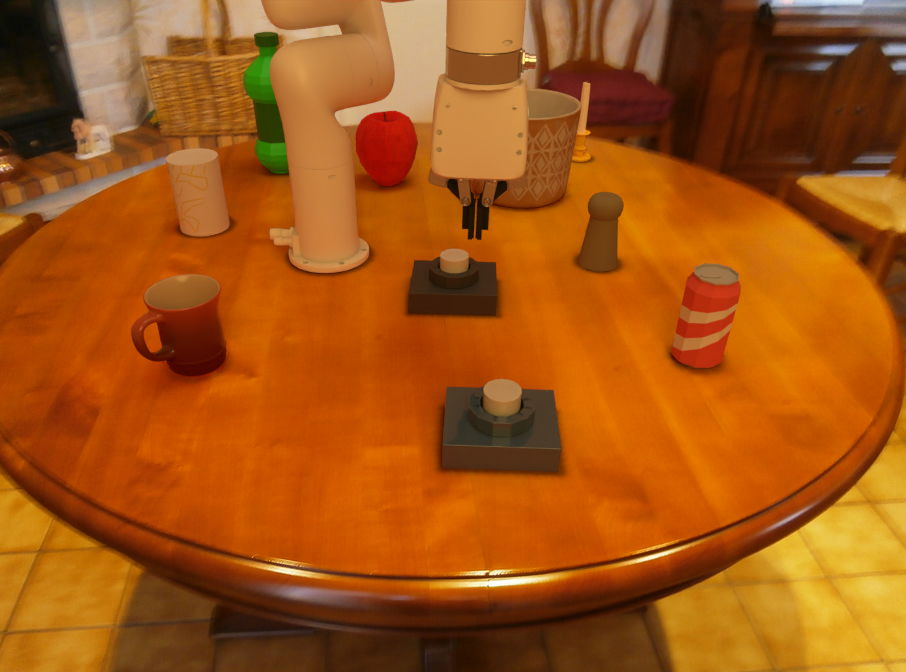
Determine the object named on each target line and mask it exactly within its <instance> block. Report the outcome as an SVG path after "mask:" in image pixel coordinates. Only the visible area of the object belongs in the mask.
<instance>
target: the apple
mask: <svg viewBox="0 0 906 672" xmlns="http://www.w3.org/2000/svg"><path fill="white" fill-rule="evenodd" d="M354 137H355V152H356V155H357V157H358V161H359V163H360V165H361V166H362V168H363V169H364V171H365V172H366V173H367V175H368V176H369V177H370V178H371V179H372V180H373V181H374V182H375V183H376V184H378V185H379V186H382V187H395V186H396V185H399V184H401V183H402V182H403V181H404V180H405V179H406V177H407V176H408V174H409V172H410V171H411V169H412V167H413V165H414V162H415V160H416V156H417V150H418V144H419V142H418V136H417V131H416V129H415V125H414V122H413V121H412V120H411V118H410V116H408V115H407V114H404V113H403V112H401V111H397V110H386V111H385V110H384V111H377V112H372V113H369V114H367V115H366V116H364V117H363V118H362V119H360V122H359V124H358V125H357V127H356V131H355V136H354Z"/></svg>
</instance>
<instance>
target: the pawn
mask: <svg viewBox="0 0 906 672" xmlns="http://www.w3.org/2000/svg"><path fill="white" fill-rule="evenodd" d="M624 207H625V205H624V201H623V198H622V197H621V196H620V194H617V193H615V192H611V191H599V192H595V193H593V194H592V195H591V196H590V198H589V200H588V202H587V212H588V214H589V218H588V222H587V226H586V229H585V233H584V237H583V240H582V244H581V247H580V252H579V255H578V259H577V263H578V265H579V266H580V267H581V268H584V269H586V270H588V271H592V272H602V273H603V272H609V271H613V270H614V269H616V268H617V266H618V244H619V243H618V242H619V218H620V217H621V215H622V214H623V211H624Z"/></svg>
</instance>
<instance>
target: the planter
mask: <svg viewBox="0 0 906 672" xmlns="http://www.w3.org/2000/svg"><path fill="white" fill-rule="evenodd" d="M580 102H581V100H579V99H578V98H576V97H575V96H572V95H570V94H567V93H564V92H561V91H556V90H551V89H544V88H534V87H528V108H529V120H528V146H527V160H526V167H525V172H526V178H527V185H526V187H524V188H520V189H515V190H507V191H505V192H504V193H503V194H502V195H501V196H499V197H498V198H497V199H496V200H495V201H494V202H493V203H492V205H493V204H494V205H497V206H500V207H505V208H512V209H513V208H514V209H534V208H540V207H541V208H542V207H545V206H549V205H551V204H554V203H555V202H557V201H559V200H560V199H562V198H563V196H564V195H565V193H566V191H567V189H568V183H569V178H570V172H571V166H572V162H573V161H572V157H573V151H574V146H575V140H576V135H577V130H578V124H579V119H580V113H581V108H582V104H581V103H580ZM484 181H485V180H472V182H473V188H474V190H475V192H476V194H477V195H478V196H479V194H480V193H481V192H482V190H483V185H484Z"/></svg>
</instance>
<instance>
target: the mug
mask: <svg viewBox="0 0 906 672" xmlns="http://www.w3.org/2000/svg"><path fill="white" fill-rule="evenodd" d="M221 293H222V285H221V283H220V281H218V280H217V279H216V278H214V277H212V276H210V275H206V274H200V273H183V274H178V275H173V276H168V277H165V278H162V279H159V280H158V281H156V282H154V283H153V284H151V285H150V286H148V287H147V288H146V289H145V291H144V293H143V294H142V295H143V297H142V299H143V303H144V305H145V307H146V308H147V310H148V311H147V312H146V313H144V314H143V315H141V316H140V317H139V318H137V319H135V321H134V322H133V324H132V326H131V330H130V335H131V340H132V343H133V345H134V348H135V350H136V351H137V352H138V353H139V355H141V357H143V358H144V359H145V360H147V361H151V362H157V363H158V362H165V363H166V364H167V366H168V368H169V369H170V370H171V371H172V372H173V373H175V374H176V375H178V376H179V375H180V376H183V377H187V378H188V377H189V378H190V377H191V378H193V377H194V378H195V377H202V376H207V375H209V374H211V373H213V372H215V371H217V370H218V369H219V368H220V367H221V366H222V365H224V363H225V362H226V360H227V352H228V348H227V339H226V336H225V331H224V326H223V322H222V319H221V314H220V313H221V312H220V299H221ZM155 323H156V326H157V329H158V336H159V339H160V344H161V348H159V349H158V350H157V351H154V352H152V351H150V349H149V347H148V346H147V343H146V340H145V337H144V336H145V335H144V334H145V330H146V328H147V327H148V326H150V325H151V324H155Z"/></svg>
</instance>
